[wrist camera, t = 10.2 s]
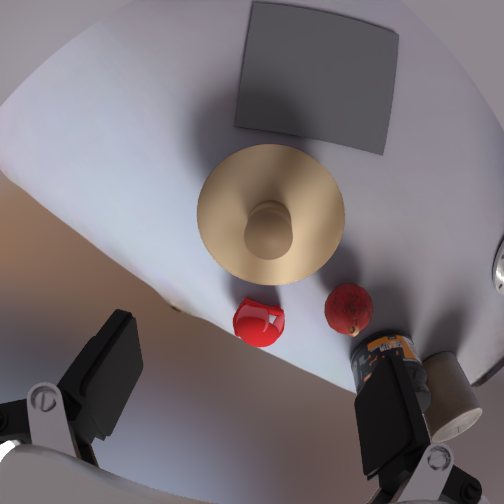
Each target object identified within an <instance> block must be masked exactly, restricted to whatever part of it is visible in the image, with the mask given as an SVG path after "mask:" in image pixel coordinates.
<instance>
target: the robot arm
mask: <svg viewBox="0 0 504 504" xmlns="http://www.w3.org/2000/svg"><path fill="white" fill-rule="evenodd" d="M493 283H494V286H495V288H496V290H497V291H498V292H499V293H500V294H502V295H504V241H503V242H502V244H501V246H500V248H499V250H498V253H497V255H496V259H495V262H494V267H493ZM142 370H143V360H142V355H141V349H140V344H139V337H138V330H137V324H136V319H135V318H134V317H133V316H132V314H131V313H130V312H127V311H123V310H120V309H116V310H115V311H114V312H113V314H112V315H111V316H110V317H109V319H108V320H107V321H106V323H105V324H104V325H103V327H102V328H101V329H100V330H99V332H98V333H97V335H96V336H94V337H92V338H91V339H90V340H89V341H88V342H87V344H86V345H85V346H84V348H83V349H82V351H81V352H80V353H79V355H78V356H77V357H76V359H75V360H74V362H73V363H72V364H71V366H70V367H69V369H68V370H67V371H66V373H65V374H64V376H63V377H62V378H61V380H60V382H59V383H58V384H57V386H55V385H53V384H51V383H39V384H37V385H35V386H34V387H32V388H31V390H30V391H29V393H28V395H27V399H23V400H17V401H12V402H8V403H2V404H0V504H216V503H211V502H205V501H201V500H196V499H191V498H187V497H183V496H179V495H175V494H171V493H168V492H164V491H161V490H158V489H154V488H151V487H148V486H145V485H142V484H139V483H136V482H134V481H131V480H128V479H126V478H123V477H120V476H117V475H115V474H113V473H110V472H108V471H105V470H103V469H101V468H100V467H99V465H98V462H97V459H96V457H95V454H94V451H93V448H92V445H91V443H92V442H93V440H94V438H95V437H96V438H98V439H101V440H103V441H104V440H105V438H106V436H110V435H111V434H112V432H113V430H114V428H115V425H116V423H117V421H118V419H119V417H120V415H121V413H122V411H123V409H124V407H125V405H126V402H127V400H128V398H129V396H130V394H131V392H132V390H133V388H134V386H135V384H136V382H137V380H138V378H139V376H140V374H141V372H142ZM354 406H355V413H356V419H357V426H358V433H359V440H360V446H361V455H362V464H363V472H364V475H366V476H367V480H368V481H373V480H379V485H380V486H379V488H378V489H377V490H376V492H375V493H374V495H373V496H372V497H371V499H370V500H369V501H368V503H367V504H490V502H489V501H488V500H487V498H486V497H485V496H483V497H481V494H482V488H481V484H480V483H479V481H478V480H477V479H476V478H474V477H472V476H471V475H469V474H467V473H466V472H464V471H462V470H461V469H459V468H458V467H456V466H454V465H453V462H454V457H453V453H452V451H451V450H450V448H449V447H448V446H446V445H445V444H442V443H433V444H431V443H430V438H429V435H428V431H427V428H426V425H425V422H424V418H423V415H422V412H421V409H420V406H419V403H418V400H417V397H416V394H415V391H414V388H413V385H412V382H411V380H410V377H409V374H408V371H407V369H406V366H405V364H404V361H403V358H402V356H401V355H392V354H387V355H385V357H384V358H381V359H380V360H379V362H378V364H377V366H376V367H375V369H374V370H373V372H372V374H371V375H370V377H369V379H368V380H367V382H366V383H365V385H364V386H363V388H362V389H361V391H360V393H359V394H358V396H357V397H356V399H355V404H354Z"/></svg>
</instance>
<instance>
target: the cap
mask: <svg viewBox="0 0 504 504" xmlns="http://www.w3.org/2000/svg"><path fill="white" fill-rule="evenodd" d="M269 314H271V315H275V316H277V317H276V319H275V321H274V322H273V324H271V323H270V322H269ZM284 317H285V316H284V311H283V309H281V308H280V306H279V305H275V306H274V307H270V306H267V305H264V304H261V303H258V302H255V301H252V300H250V299H248V298H244V300H243V303H241V304H240V306H239V308H238V309H237V311H236V313H235V315H234V318H233V327H234V331H235V335H236V336H237V337H239V336H240V337H241V339H242V340H243V341H245V342H246V343H247V344H250V345H252V346H255V347H266V346H269V345H271V344H273V343H274V342H275V341H276V340H277V339H278V338H279V337H280V336H281V334H282V332H283V330H284V323H285V320H284Z"/></svg>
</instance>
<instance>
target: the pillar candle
mask: <svg viewBox="0 0 504 504" xmlns="http://www.w3.org/2000/svg"><path fill="white" fill-rule="evenodd" d="M422 365H423V367H424V369H425V370H426V372H427V374H428V379H429V381H428V386H429V389H430V391H431V394H432V402H431V404H430V406H429V407H428V409H427V410H426V411H425V412H424V413H423V414H424V417H425V420H426V423H427V427H428V430H429V432H430V436H431V439H432V441H434V442H442V441H445V440H448V439H450V438H452V437H454V436H457V435H458V434H460V433H462V432H463V431H465V430H466V429H467V428H469V427H470V426H471V425H473V424H474V423H475V422H476V420H477V419H478V418H479V417H480V415H481V413H482V409H481V406H480V404H479V402H478V400H477V398H476V396H475V394H474V392H473V390H472V387H471V385H470V383H469V381H468V379H467V377H466V375H465V373H464V371H463V370H462V368H461V366H460V364H459V362H458V360H457V359H456V357H455V355H454V354H453V353H451V352H447V351H444V352H440V353H438V354H435V355H433V356H431V357H430V358H428V359H427V360H425V361H424V362H422Z"/></svg>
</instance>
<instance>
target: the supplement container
mask: <svg viewBox="0 0 504 504" xmlns="http://www.w3.org/2000/svg"><path fill="white" fill-rule="evenodd" d="M387 354H392V355H401V356H402V358H403V361H404V364H405V366H406V369H407V371H408V374H409V377H410V380H411V382H412V385H413V388H414V391H415V394H416V397H417V400H418V403H419V406H420V409H421V412H422V414H423V413H424V412H425V411H426V410H427V409H428V407H429V406H430V404H431V402H432V394H431V391H430V389H429V386H428V381H429V379H428V374H427V372H426V370H425V369H424V367H423V365H422V363H421V360H420V358H419V356H418V354H417V351H416V349H415V347H414V344H413V342H412V340H411V338H410V337H409V336H408V335H407V334H405V333H403V332H400V331H395V330H390V331H383V332H380V333H377V334H374V335H372V336H370V337H369V338H367V339H366V340H364V341H363V342H362V343H361V344H360V345H359V346H358V347H357V348H356V350H355V351H354V353H353V355H352V358H351V369H352V372H353V376H354V381H355V386H356V391H357V396H358V394H359V393H360V391H361V389H362V388H363V386H364V385H365V383H366V382H367V380H368V379H369V377H370V375H371V374H372V372H373V370H374V369H375V367H376V366H377V364H378V362H379V360H380V359H381V358H384V357H385V355H387Z"/></svg>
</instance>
